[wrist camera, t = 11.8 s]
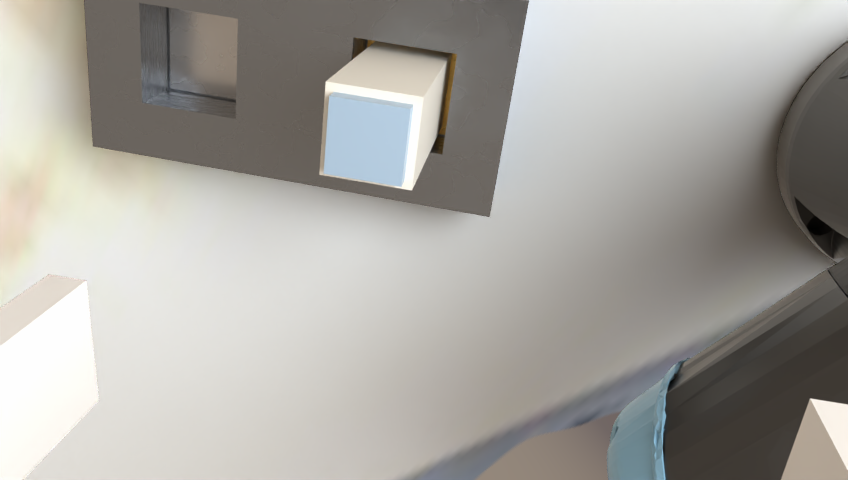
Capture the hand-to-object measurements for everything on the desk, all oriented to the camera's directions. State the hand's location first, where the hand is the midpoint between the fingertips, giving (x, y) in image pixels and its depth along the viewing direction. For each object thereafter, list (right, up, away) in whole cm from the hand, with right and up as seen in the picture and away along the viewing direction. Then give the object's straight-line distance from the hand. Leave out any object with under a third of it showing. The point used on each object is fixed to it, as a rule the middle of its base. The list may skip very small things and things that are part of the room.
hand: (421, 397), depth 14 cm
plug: (-1, +12, +30) cm, 32 cm away
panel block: (-7, +14, +32) cm, 35 cm away
